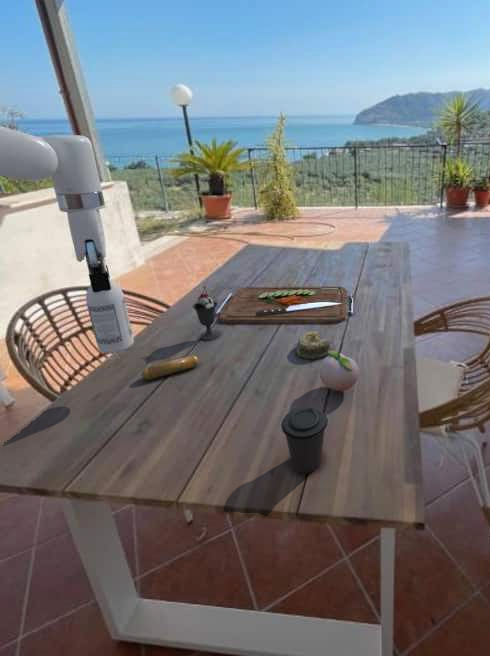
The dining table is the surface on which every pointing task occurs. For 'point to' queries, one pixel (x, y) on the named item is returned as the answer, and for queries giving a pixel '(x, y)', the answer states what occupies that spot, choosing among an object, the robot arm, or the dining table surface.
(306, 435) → the coffee cup
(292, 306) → the chopping board
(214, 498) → the dining table surface
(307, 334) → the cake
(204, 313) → the sundae
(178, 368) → the breadstick
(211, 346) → the dining table surface
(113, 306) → the bath foam
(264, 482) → the dining table surface
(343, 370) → the decorative fruit
